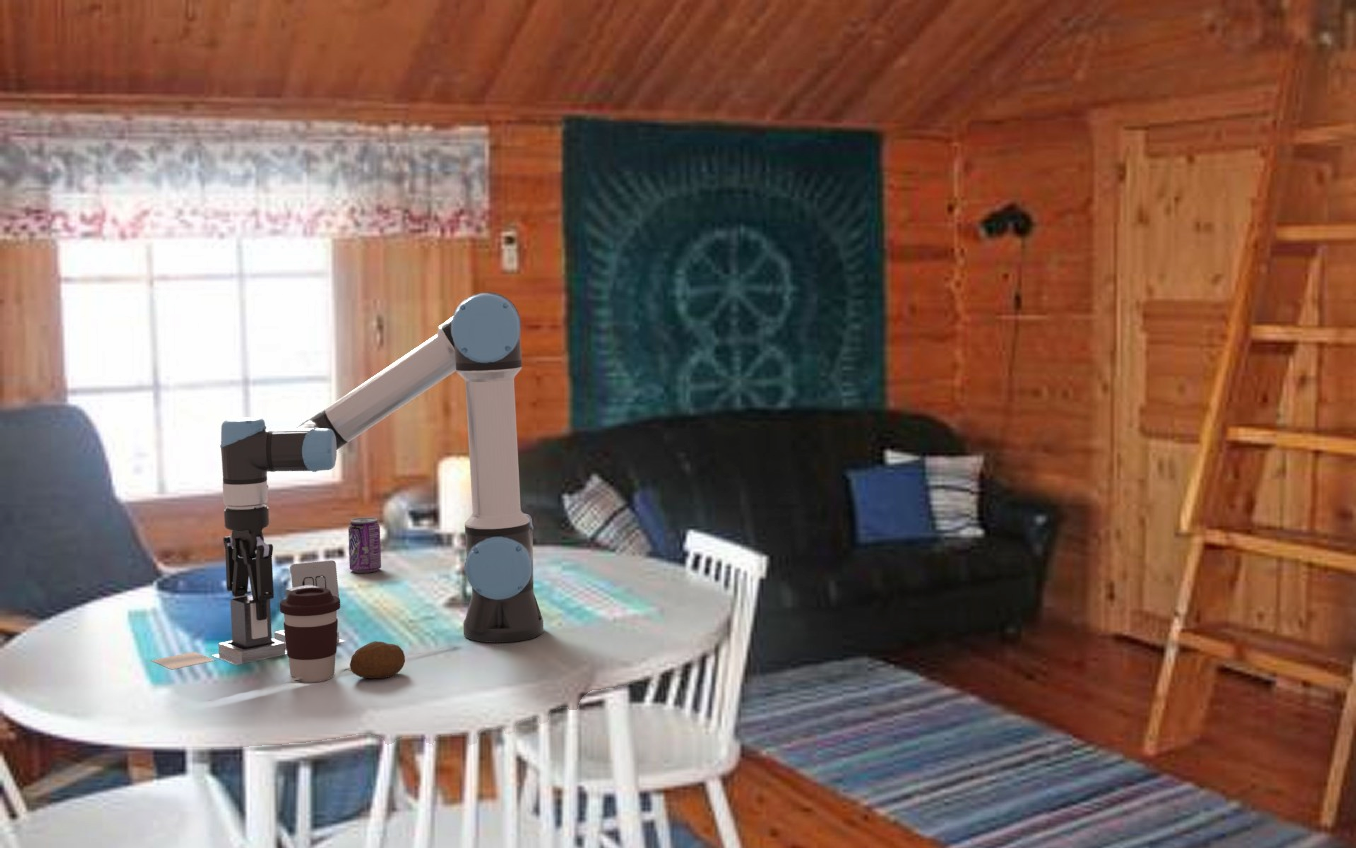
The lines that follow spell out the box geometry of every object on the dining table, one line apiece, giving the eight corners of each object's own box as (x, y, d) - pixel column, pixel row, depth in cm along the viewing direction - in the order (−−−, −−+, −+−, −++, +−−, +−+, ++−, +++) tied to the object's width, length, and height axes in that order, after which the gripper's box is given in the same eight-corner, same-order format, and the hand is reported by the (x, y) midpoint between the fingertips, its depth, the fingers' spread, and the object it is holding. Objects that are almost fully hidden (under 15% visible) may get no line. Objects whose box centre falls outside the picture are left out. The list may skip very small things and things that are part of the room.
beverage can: (348, 569, 331) (346, 518, 329) (379, 567, 333) (378, 516, 332) (351, 575, 324) (349, 523, 323) (382, 573, 326) (381, 521, 325)
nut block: (272, 653, 254) (270, 598, 253) (246, 659, 251) (244, 603, 250) (258, 648, 258) (256, 594, 257) (232, 654, 254) (230, 599, 253)
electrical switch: (294, 610, 291) (291, 565, 291) (289, 607, 296) (287, 562, 296) (340, 605, 295) (337, 561, 295) (334, 602, 300) (332, 558, 300)
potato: (414, 675, 244) (413, 640, 243) (364, 687, 237) (363, 650, 236) (393, 668, 248) (392, 633, 248) (343, 679, 242) (342, 643, 241)
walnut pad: (215, 665, 250) (215, 660, 250) (172, 675, 245) (171, 669, 245) (194, 657, 256) (194, 651, 256) (151, 666, 250) (151, 660, 250)
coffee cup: (319, 666, 250) (316, 582, 248) (354, 676, 243) (351, 590, 242) (270, 679, 242) (267, 592, 240) (306, 689, 236) (302, 600, 234)
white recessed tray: (346, 646, 263) (345, 630, 262) (236, 670, 247) (235, 653, 247) (320, 637, 269) (320, 622, 269) (211, 660, 254) (210, 644, 253)
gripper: (291, 508, 248) (296, 639, 250) (240, 497, 260) (246, 622, 263) (252, 514, 242) (257, 647, 245) (202, 502, 255) (208, 629, 258)
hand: (251, 634), depth 254 cm, fingers closed on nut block, 5 cm apart
